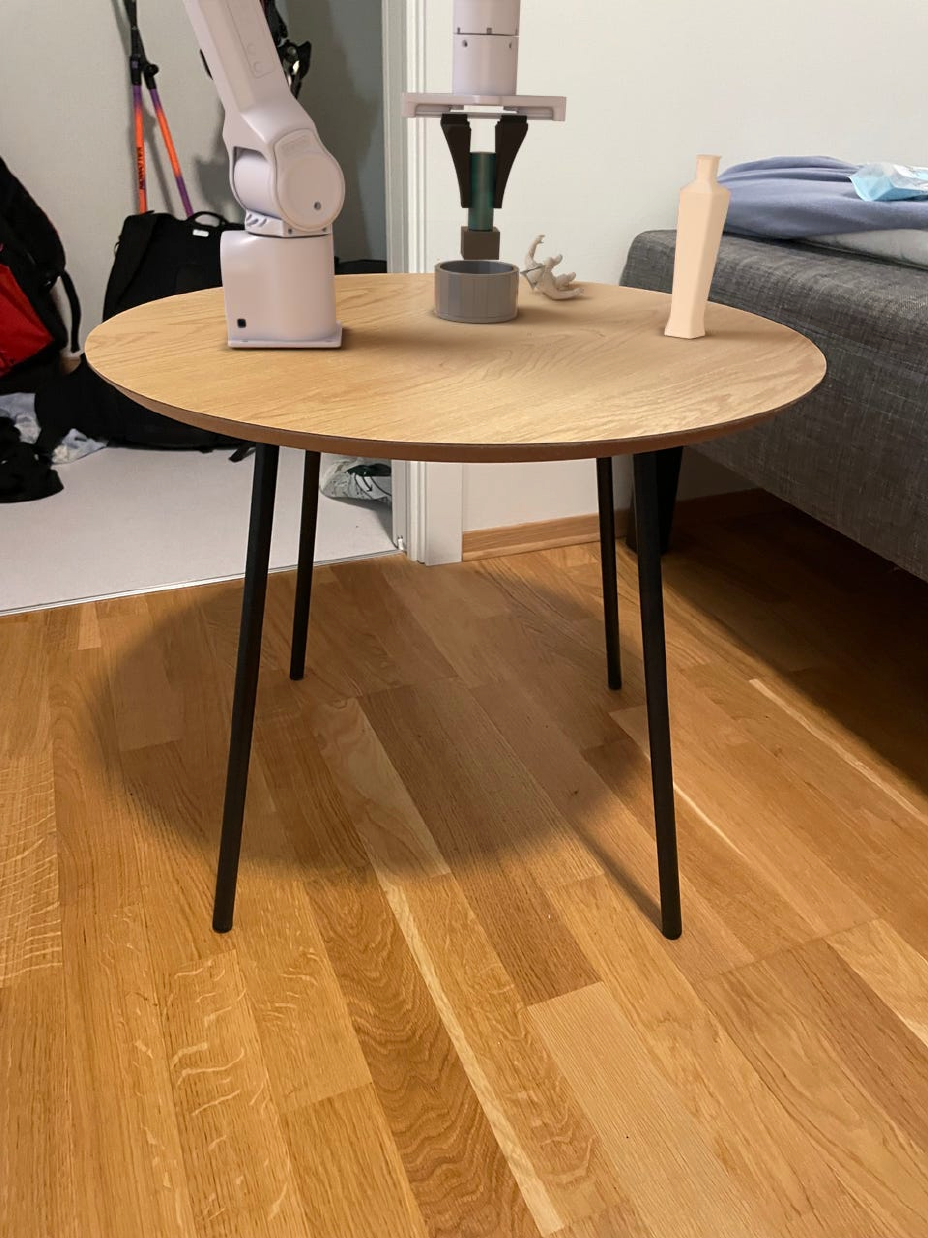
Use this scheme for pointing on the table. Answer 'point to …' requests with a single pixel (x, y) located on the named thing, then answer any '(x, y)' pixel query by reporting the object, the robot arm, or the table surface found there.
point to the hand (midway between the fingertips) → (480, 207)
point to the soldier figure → (547, 274)
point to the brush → (481, 210)
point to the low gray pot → (476, 291)
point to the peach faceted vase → (696, 247)
